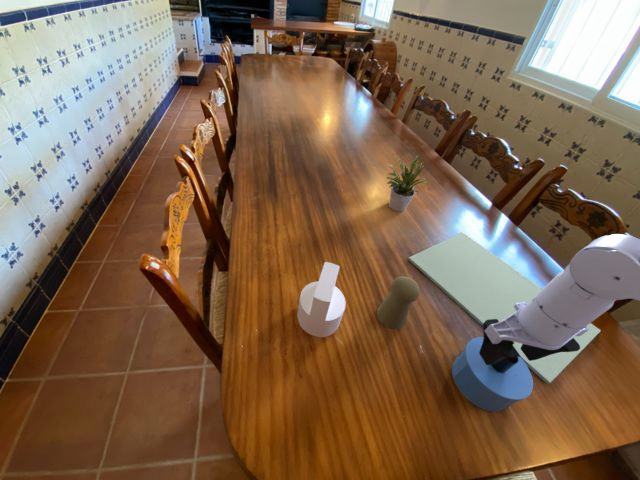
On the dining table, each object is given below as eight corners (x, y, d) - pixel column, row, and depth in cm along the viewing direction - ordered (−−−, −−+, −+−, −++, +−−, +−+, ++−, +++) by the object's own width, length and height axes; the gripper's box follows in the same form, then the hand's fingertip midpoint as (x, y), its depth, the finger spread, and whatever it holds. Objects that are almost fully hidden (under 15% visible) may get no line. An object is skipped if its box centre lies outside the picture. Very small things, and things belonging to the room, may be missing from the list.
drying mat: (598, 332, 64) (601, 330, 63) (547, 384, 54) (550, 382, 54) (460, 234, 85) (462, 232, 85) (407, 259, 76) (408, 257, 76)
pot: (520, 393, 53) (540, 379, 49) (488, 423, 49) (508, 411, 45) (472, 346, 59) (487, 331, 55) (440, 370, 55) (454, 355, 51)
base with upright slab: (335, 343, 57) (347, 308, 50) (291, 328, 59) (296, 292, 52) (343, 305, 64) (355, 270, 56) (304, 293, 66) (310, 256, 58)
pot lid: (541, 381, 49) (560, 369, 46) (507, 415, 45) (525, 404, 42) (485, 330, 56) (498, 317, 53) (450, 356, 52) (462, 342, 49)
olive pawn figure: (409, 329, 61) (429, 298, 54) (380, 328, 61) (396, 296, 54) (401, 304, 65) (418, 272, 58) (374, 302, 65) (388, 270, 58)
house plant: (378, 186, 102) (392, 142, 91) (419, 198, 98) (439, 153, 88) (370, 209, 91) (384, 162, 81) (416, 223, 88) (437, 176, 77)
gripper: (581, 282, 43) (527, 330, 52) (492, 287, 41) (451, 336, 50) (628, 326, 38) (559, 371, 47) (529, 335, 36) (476, 380, 45)
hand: (505, 356), depth 48 cm, fingers open, 7 cm apart
